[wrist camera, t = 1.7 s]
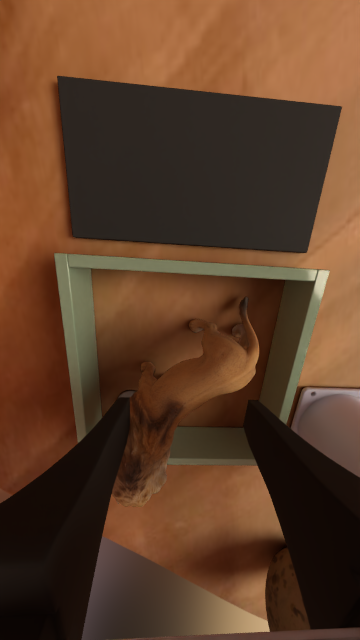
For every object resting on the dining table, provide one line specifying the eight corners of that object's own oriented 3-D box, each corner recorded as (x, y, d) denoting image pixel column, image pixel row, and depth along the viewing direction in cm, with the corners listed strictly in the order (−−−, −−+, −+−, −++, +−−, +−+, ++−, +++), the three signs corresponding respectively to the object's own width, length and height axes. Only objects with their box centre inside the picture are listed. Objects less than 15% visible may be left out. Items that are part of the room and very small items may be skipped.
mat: (336, 111, 13) (342, 106, 12) (303, 252, 16) (307, 252, 15) (61, 82, 12) (56, 74, 12) (75, 237, 15) (72, 236, 14)
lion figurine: (157, 416, 20) (147, 535, 11) (114, 389, 19) (68, 501, 10) (263, 314, 17) (358, 372, 8) (221, 273, 16) (284, 294, 7)
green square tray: (297, 268, 16) (330, 270, 13) (258, 433, 21) (275, 466, 18) (79, 254, 15) (53, 252, 12) (95, 430, 20) (80, 464, 17)
